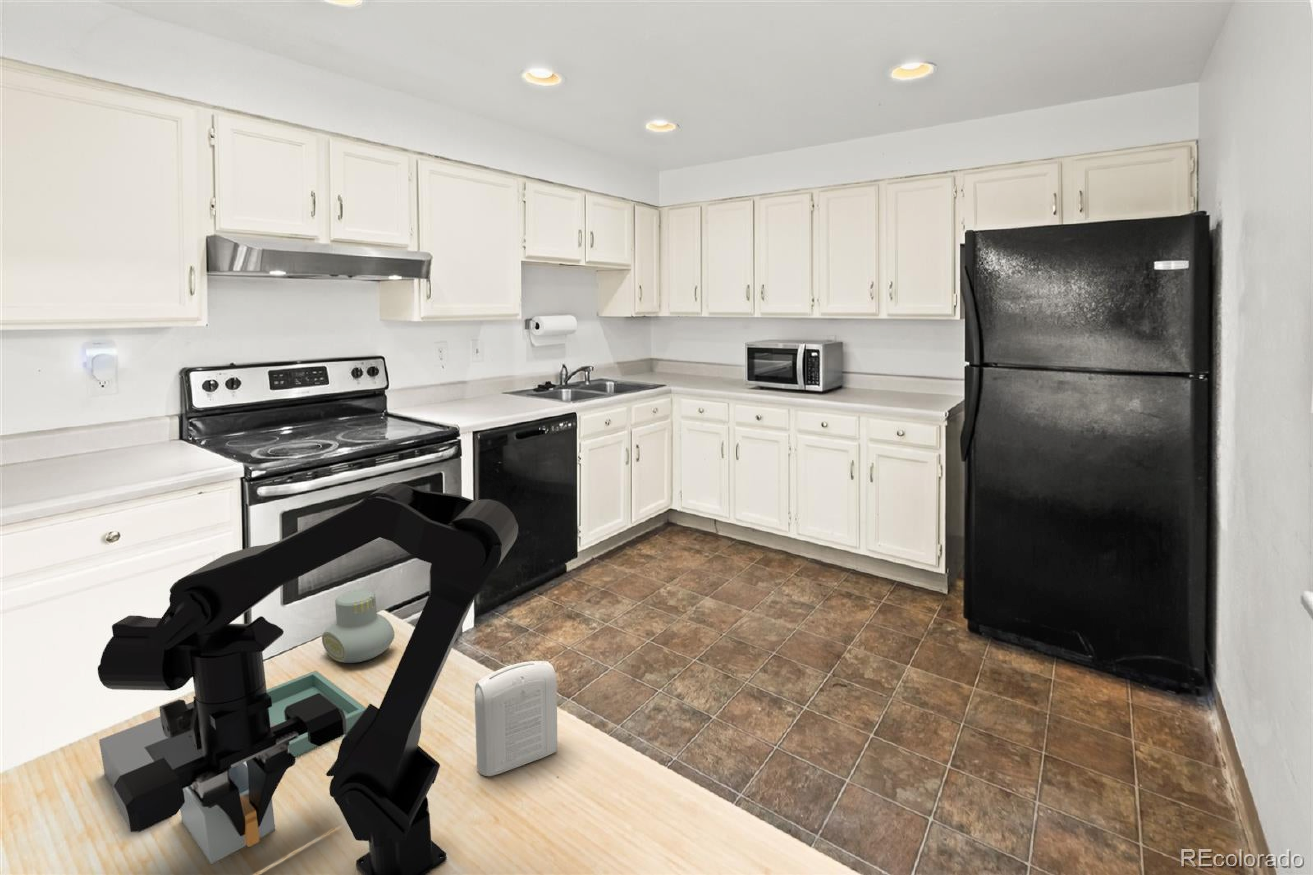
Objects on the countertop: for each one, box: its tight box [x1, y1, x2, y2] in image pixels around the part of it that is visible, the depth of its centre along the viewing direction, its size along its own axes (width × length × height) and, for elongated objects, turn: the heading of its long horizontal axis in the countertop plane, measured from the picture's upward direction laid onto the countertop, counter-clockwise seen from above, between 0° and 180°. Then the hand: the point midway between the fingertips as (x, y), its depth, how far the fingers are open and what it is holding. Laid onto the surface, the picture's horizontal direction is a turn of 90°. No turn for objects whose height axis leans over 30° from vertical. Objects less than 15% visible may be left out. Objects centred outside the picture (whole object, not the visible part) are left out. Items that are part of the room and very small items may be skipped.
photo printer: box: [474, 660, 559, 777], centre depth 83 cm, size 10×4×12 cm, turn 123°
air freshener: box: [321, 588, 395, 664], centre depth 108 cm, size 11×8×10 cm
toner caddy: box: [179, 762, 276, 865], centre depth 71 cm, size 12×6×6 cm, turn 50°
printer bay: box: [98, 716, 203, 833], centre depth 80 cm, size 14×13×5 cm
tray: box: [266, 670, 367, 759], centre depth 91 cm, size 15×11×2 cm
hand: (248, 829), depth 68 cm, fingers closed on toner caddy
